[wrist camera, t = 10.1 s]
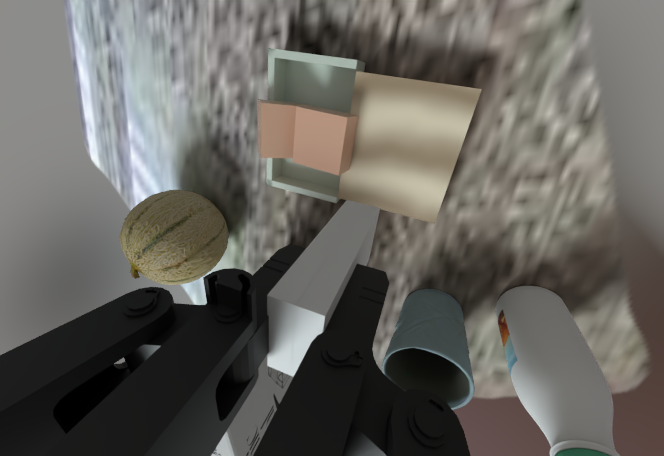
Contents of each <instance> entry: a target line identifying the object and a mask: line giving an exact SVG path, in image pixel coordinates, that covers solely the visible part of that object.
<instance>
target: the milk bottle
mask: <svg viewBox="0 0 664 456" xmlns="http://www.w3.org/2000/svg"><path fill="white" fill-rule="evenodd" d="M496 316H497V320H498V325H499V329H500V334H501V338H502V342H503V347H504V351H505V355H506V359H507V363H508V367H509V371H510V375H511V378H512V382H513V385H514V387H515V390H516V393H517V395H518V397H519V399H520V401H521V402H522V404H523V406H524V407H525V409H526V410H527V411H528V413H529V414H530V415H531V416H532V418H533V419H534V420H535V421H536V423H537V424H538V425H539V427H540V428H541V430H542V431H543V433H544V434H545V436H546V438H547V439H548V441H549V443H550V445H551V450H550V456H620V455H619V454H618V453H617V452H616V451H615V448H614V443H613V437H612V421H613V401H612V396H611V392H610V389H609V386H608V384H607V381H606V379H605V377H604V375H603V373H602V371H601V369H600V367H599V365H598V363H597V361H596V359H595V357H594V355H593V353H592V352H591V350H590V348H589V346H588V344H587V342H586V341H585V339H584V337H583V335H582V333H581V332H580V330H579V328H578V326H577V324H576V323H575V321H574V319H573V317H572V315H571V314H570V312H569V310H568V308H567V307H566V305H565V303H564V302H563V300H562V299H561V298H560V297H559V296H558V295H557V294H555V293H554V292H552V291H550V290H548V289H546V288H542V287H539V286H527V285H526V286H519V287H515V288H512V289H510V290H508V291H506V292H505V293H503V294H502V296H500V298H499V300H498V301H497V304H496Z"/></svg>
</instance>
